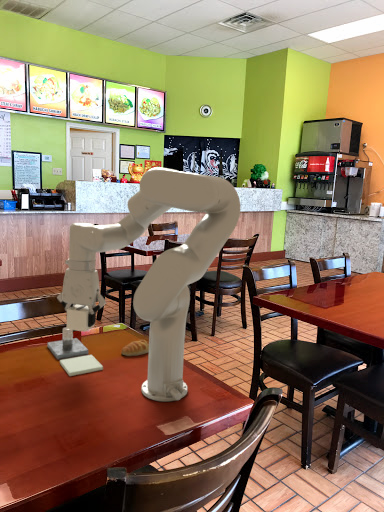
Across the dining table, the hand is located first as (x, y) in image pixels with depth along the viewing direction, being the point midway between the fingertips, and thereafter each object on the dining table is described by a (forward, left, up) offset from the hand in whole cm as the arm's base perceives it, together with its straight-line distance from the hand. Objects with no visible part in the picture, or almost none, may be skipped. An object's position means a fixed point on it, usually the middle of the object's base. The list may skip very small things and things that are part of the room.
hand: (80, 323), depth 122 cm
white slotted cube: (0, 0, -1) cm, 1 cm away
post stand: (+14, 0, -13) cm, 19 cm away
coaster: (0, 0, -13) cm, 13 cm away
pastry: (+3, -20, -14) cm, 24 cm away
